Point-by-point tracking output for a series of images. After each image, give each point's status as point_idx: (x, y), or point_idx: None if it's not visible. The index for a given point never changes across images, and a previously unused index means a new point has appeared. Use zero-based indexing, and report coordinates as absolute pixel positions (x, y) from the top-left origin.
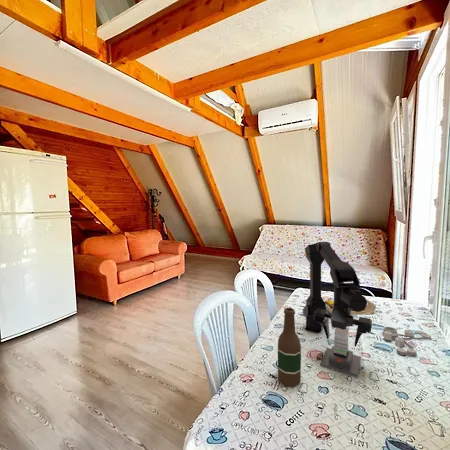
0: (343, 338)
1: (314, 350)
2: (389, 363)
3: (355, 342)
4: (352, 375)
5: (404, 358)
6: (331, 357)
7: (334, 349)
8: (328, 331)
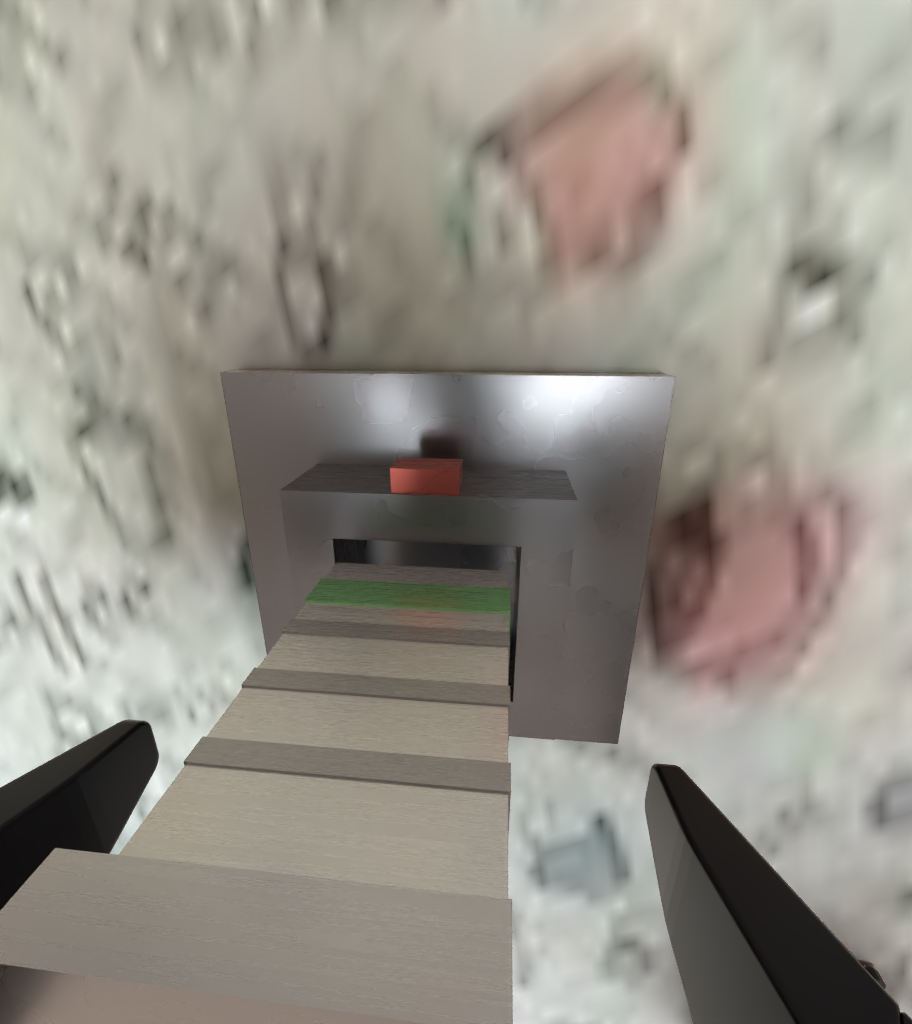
0: (244, 810)
1: (751, 662)
2: (90, 731)
3: (46, 781)
4: (284, 371)
5: None
6: (537, 489)
7: (504, 596)
8: (717, 1008)
